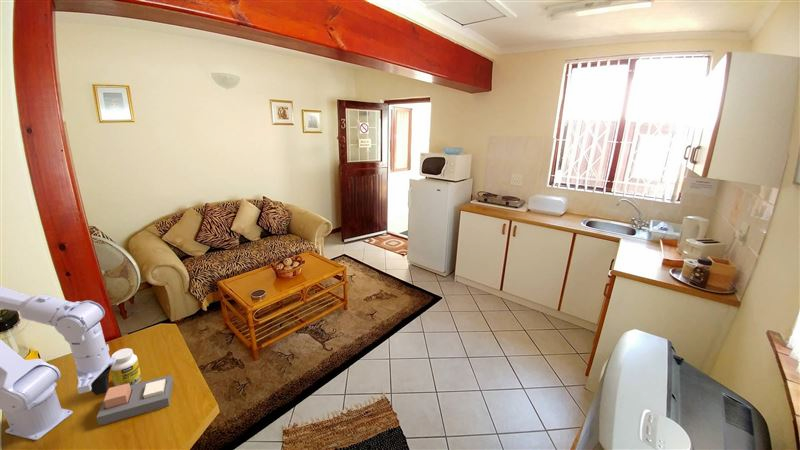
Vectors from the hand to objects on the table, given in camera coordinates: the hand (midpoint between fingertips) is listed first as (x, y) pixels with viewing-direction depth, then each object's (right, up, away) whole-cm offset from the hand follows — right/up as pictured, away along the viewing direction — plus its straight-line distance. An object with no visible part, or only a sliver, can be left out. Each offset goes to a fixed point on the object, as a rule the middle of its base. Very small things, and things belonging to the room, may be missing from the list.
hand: (101, 392), depth 78 cm
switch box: (+2, -8, +9) cm, 12 cm away
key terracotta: (-1, -6, +7) cm, 9 cm away
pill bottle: (-6, -5, +15) cm, 17 cm away
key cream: (+5, -7, +11) cm, 14 cm away
